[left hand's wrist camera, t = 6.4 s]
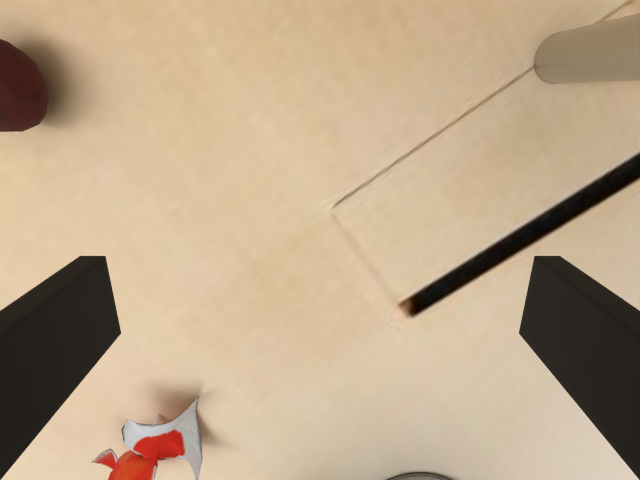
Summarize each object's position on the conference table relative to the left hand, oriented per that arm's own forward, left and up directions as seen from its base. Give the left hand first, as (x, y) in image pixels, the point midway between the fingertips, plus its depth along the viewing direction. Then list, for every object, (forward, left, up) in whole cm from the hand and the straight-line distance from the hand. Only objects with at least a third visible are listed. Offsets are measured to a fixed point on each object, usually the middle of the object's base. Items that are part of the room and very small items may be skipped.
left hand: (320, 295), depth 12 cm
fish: (-33, +20, -28) cm, 48 cm away
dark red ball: (+6, +27, -28) cm, 39 cm away
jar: (+9, -21, -28) cm, 36 cm away
